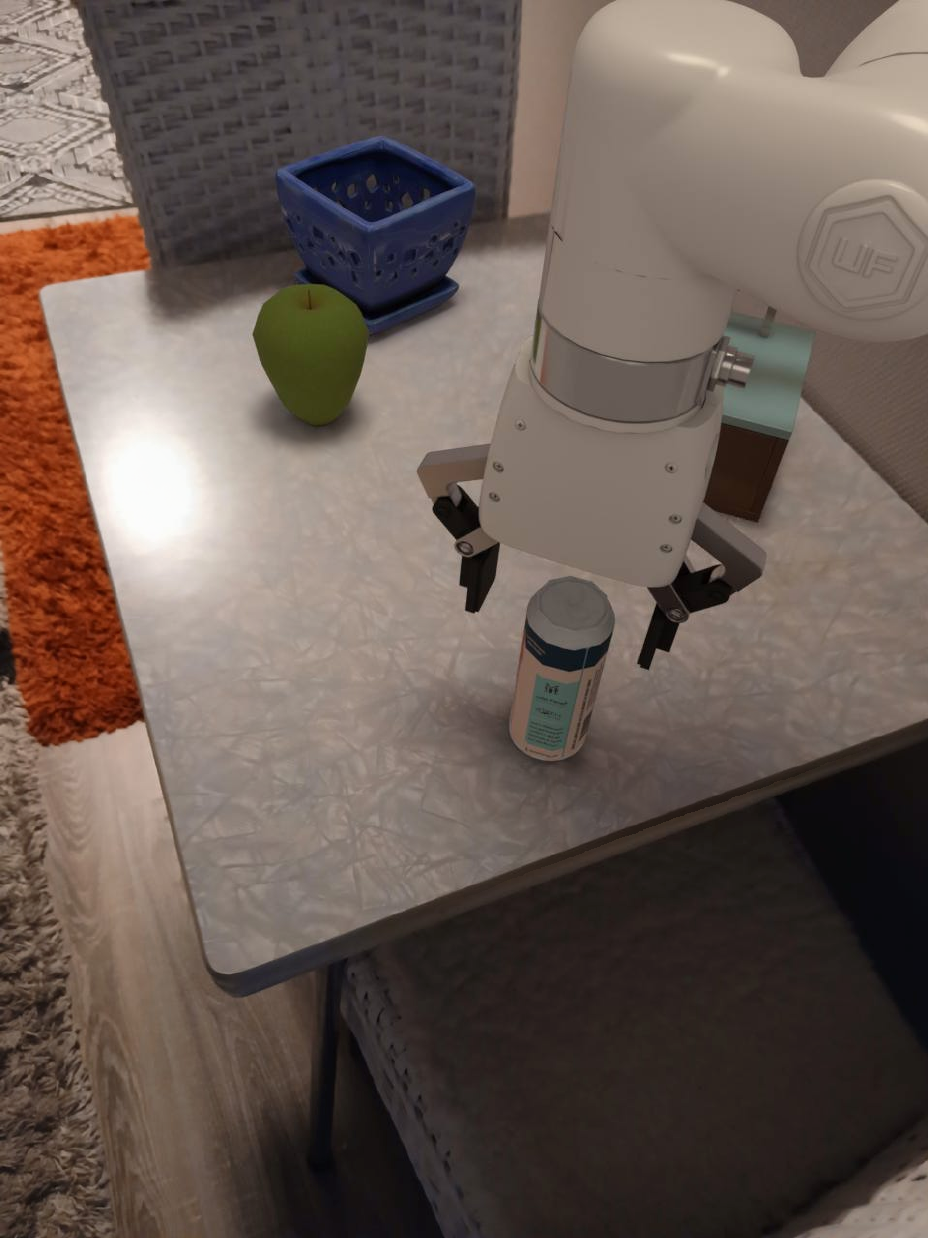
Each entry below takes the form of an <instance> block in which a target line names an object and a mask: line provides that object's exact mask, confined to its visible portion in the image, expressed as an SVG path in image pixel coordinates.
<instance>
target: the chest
mask: <svg viewBox="0 0 928 1238" xmlns="http://www.w3.org/2000/svg"><path fill="white" fill-rule="evenodd" d="M789 441H790V439H789V440H786V439H782V438H778V437H774V436H770V435H766V434H762V433H759V432H755V431H751V430H747V429H743V428H739V427H736V426H732V425H728V424H724V423H721V428H720V435H719V441H718V446H717V451H716V455H715V460H714V464H713V467H712V471H711V475H710V479H709V483H708V486H707V490H706V494H705V498H704V501H703V502H704V503H705V504H706V505H707V506H709V507H710V508H711V509H713V510H714V511H715V512H720V513H723V514H726V515H730V516H734V517H737V518H741V519H744V520H749V521H751V522H754V523H755V522H756V523H758V522H759V520H760V518H761V515H762V513H763V510H764V508H765V504H766V502H767V499H768V497H769V494H770V491H771V489H772V486H773V485H774V482H775V479H776V476H777V474H778V471H779V468H780V466H781V463H782V460H783V458H784V454H785V452H786V450H787V447H788V444H789Z"/></svg>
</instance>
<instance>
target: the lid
mask: <svg viewBox="0 0 928 1238" xmlns="http://www.w3.org/2000/svg"><path fill="white" fill-rule="evenodd" d="M738 291H739V292H741V291H740V290H737V292H738ZM767 306H768V305H767ZM777 313H778V311H777V310H775V309H774V308H772V307H770V306H768V307H767V309H766V312H765V316H764V318H762V317H759V316H758V317H757V316H753V315H750V314H744V313H740V312H738V311H737V312H736V311H732V310H731V313H730V316H729V319H728V323H727V327H726V330H725V333H724V336H727V337H731V338H730V342H729V346H733V347H737V348H738V350H737V351H738V352H742V353H746V354H750V355H754V356H755V359H754V362H753V365H752V368H751V371H750V374H749V377H748V380H747V383H746V386H745V388H741V387H737V386H733V385H729V384H726V387H723V390H724V397H723V413H722V421H721V423H724V424H728V425H732V426H736V427H739V428H743V429H747V430H751V431H755V432H759V433H762V434H766V435H770V436H774V437H778V438H782V439H786V440H789V441H790V439H791V437H792V433H793V430H794V426H795V422H796V417H797V413H798V410H799V406H800V405H799V404H800V401H801V396H802V392H803V388H804V384H805V379H806V376H807V371H808V366H809V362H810V359H811V355H812V350H813V345H814V341H815V338H816V333H817V332H816V330H813V329H808V328H804V327H801V326H796V325H791V324H787V323H782V322H779V321H775V318H776V315H777ZM724 336H723V337H724Z"/></svg>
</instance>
